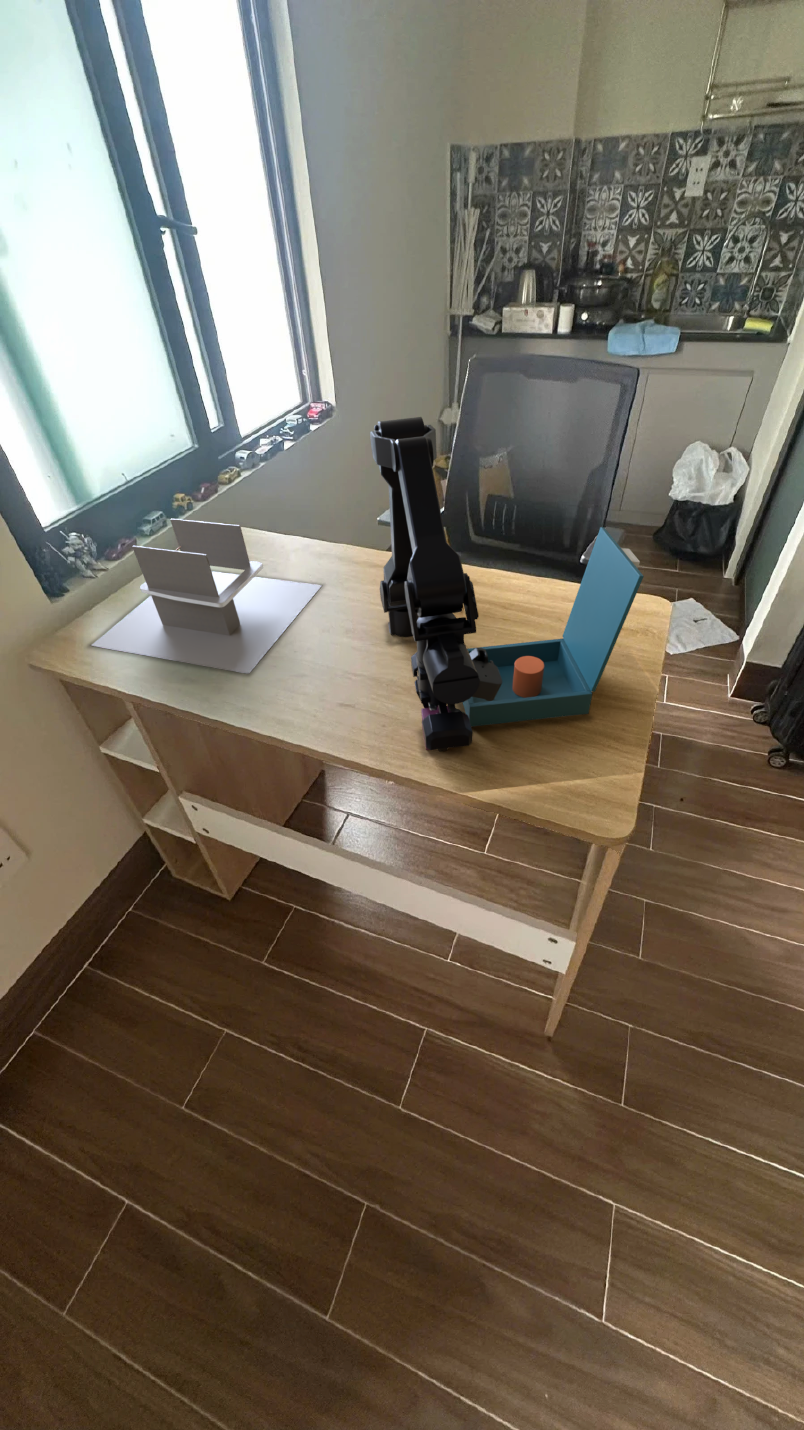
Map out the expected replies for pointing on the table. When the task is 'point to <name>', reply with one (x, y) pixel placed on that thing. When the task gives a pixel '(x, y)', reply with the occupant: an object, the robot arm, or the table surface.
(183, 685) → the table surface
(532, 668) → the orange cylinder
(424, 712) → the purple cube
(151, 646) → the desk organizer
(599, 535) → the lunchbox lid
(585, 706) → the box
